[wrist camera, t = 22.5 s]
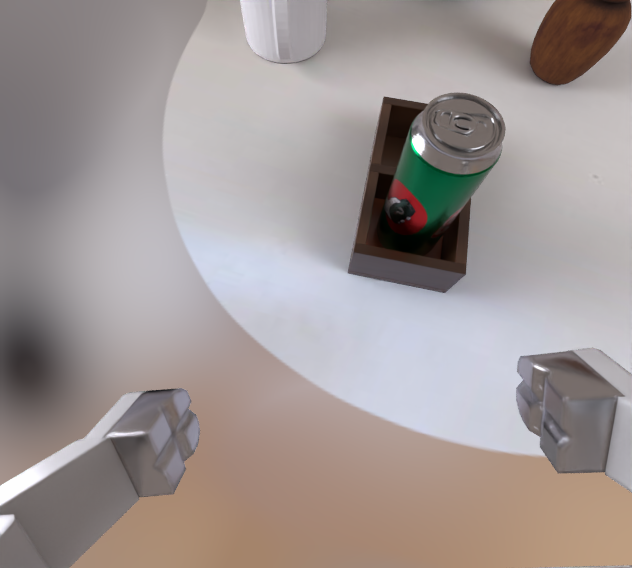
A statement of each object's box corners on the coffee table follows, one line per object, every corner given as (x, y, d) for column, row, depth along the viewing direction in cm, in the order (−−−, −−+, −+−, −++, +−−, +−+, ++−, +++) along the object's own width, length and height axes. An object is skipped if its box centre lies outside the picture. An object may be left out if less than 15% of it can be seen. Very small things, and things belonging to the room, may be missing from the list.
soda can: (428, 269, 28) (507, 173, 17) (368, 252, 28) (405, 148, 17) (440, 217, 30) (518, 99, 18) (382, 202, 30) (425, 77, 19)
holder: (444, 293, 28) (466, 274, 24) (347, 273, 29) (353, 252, 25) (458, 146, 33) (477, 111, 29) (375, 131, 34) (383, 96, 30)
